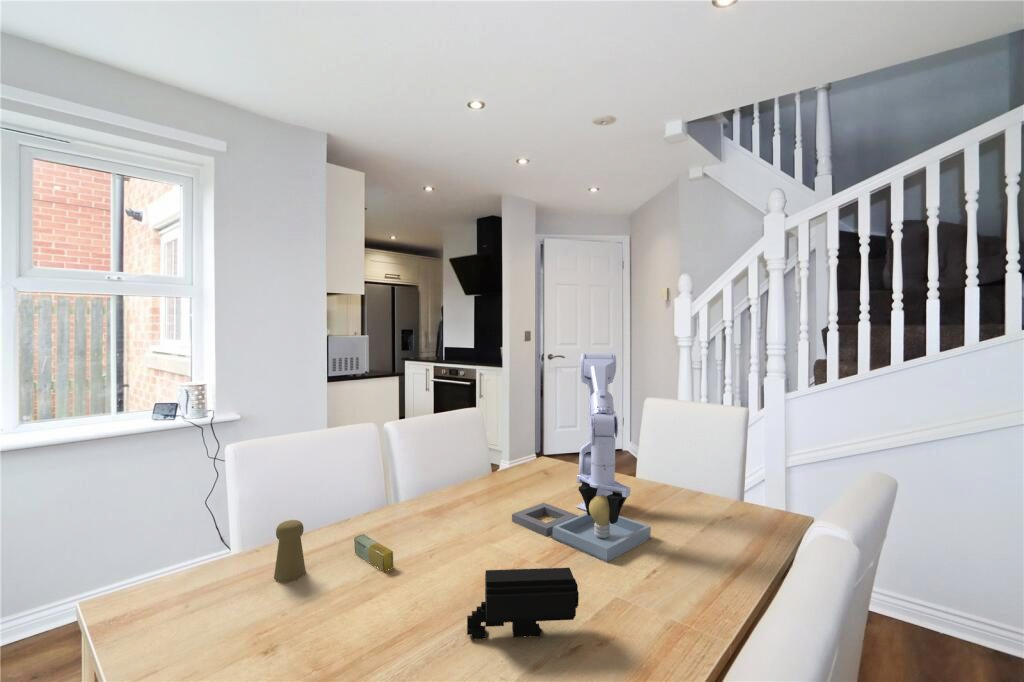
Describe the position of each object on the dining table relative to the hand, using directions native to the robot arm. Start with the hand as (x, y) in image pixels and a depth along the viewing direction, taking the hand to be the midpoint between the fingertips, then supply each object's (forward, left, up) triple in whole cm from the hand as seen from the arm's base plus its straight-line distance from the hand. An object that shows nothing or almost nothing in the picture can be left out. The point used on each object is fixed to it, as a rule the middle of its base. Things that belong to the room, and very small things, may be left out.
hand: (602, 518), depth 120 cm
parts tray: (0, 0, -5) cm, 5 cm away
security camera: (+40, +13, -5) cm, 42 cm away
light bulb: (0, 0, -5) cm, 5 cm away
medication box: (+46, -27, -6) cm, 54 cm away
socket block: (+3, -16, -5) cm, 17 cm away
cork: (+62, -33, -5) cm, 70 cm away
